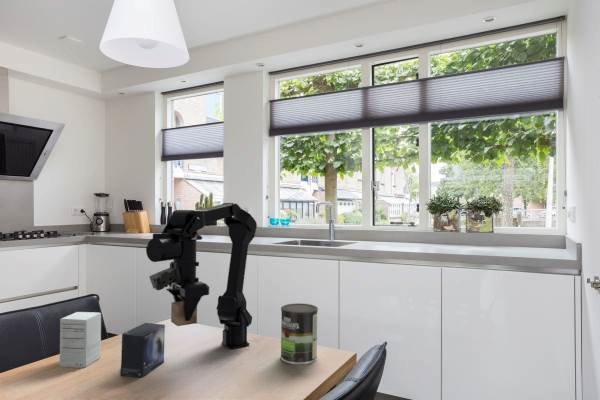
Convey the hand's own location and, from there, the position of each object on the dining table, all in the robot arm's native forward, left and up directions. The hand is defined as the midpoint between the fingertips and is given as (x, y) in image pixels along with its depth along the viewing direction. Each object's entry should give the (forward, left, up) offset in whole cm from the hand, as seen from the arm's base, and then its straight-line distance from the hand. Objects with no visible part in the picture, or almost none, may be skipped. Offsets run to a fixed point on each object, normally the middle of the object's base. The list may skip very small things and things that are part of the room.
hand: (183, 318), depth 105 cm
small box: (+8, -6, -14) cm, 17 cm away
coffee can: (-30, +10, -13) cm, 34 cm away
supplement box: (+21, -20, -13) cm, 32 cm away
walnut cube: (0, 0, -1) cm, 1 cm away
